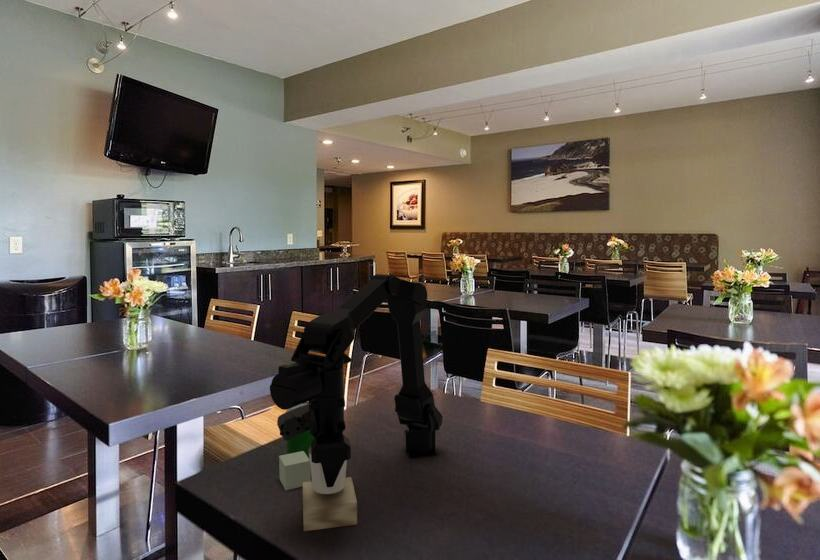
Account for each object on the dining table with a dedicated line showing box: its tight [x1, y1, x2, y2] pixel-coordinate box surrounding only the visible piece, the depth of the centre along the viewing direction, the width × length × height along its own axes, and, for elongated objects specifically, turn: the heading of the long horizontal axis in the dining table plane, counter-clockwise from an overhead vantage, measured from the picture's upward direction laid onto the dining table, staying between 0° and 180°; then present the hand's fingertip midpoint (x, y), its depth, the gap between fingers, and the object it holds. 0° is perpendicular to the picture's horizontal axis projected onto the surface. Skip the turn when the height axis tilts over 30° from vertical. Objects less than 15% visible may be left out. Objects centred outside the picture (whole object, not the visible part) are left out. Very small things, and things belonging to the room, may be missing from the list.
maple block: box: [302, 476, 358, 532], centre depth 89 cm, size 9×9×4 cm
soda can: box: [285, 401, 314, 460], centre depth 110 cm, size 8×8×12 cm
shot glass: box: [308, 447, 348, 494], centre depth 88 cm, size 7×7×7 cm
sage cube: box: [278, 451, 312, 491], centre depth 100 cm, size 5×5×5 cm
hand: (328, 477), depth 88 cm, fingers closed on shot glass, 6 cm apart
